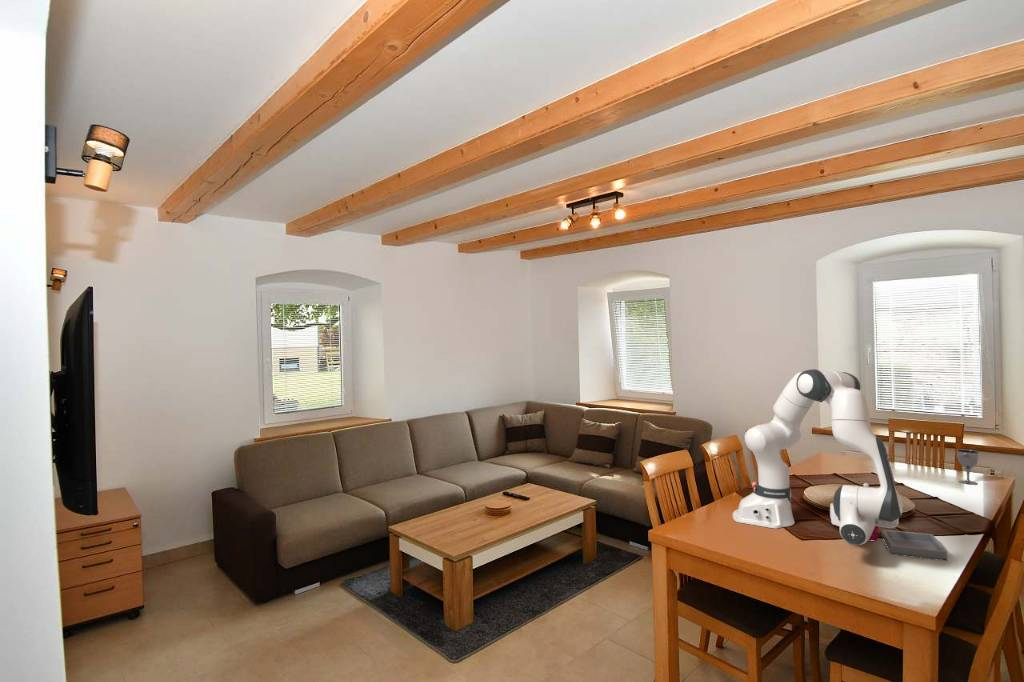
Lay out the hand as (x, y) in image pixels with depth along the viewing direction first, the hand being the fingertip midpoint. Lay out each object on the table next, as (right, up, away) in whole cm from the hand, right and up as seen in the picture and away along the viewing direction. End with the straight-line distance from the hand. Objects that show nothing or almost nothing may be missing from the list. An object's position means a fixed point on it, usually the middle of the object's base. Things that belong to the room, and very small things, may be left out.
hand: (865, 508), depth 195 cm
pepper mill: (+1, -11, +1) cm, 11 cm away
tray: (+10, -11, -9) cm, 17 cm away
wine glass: (+88, -7, +61) cm, 108 cm away
